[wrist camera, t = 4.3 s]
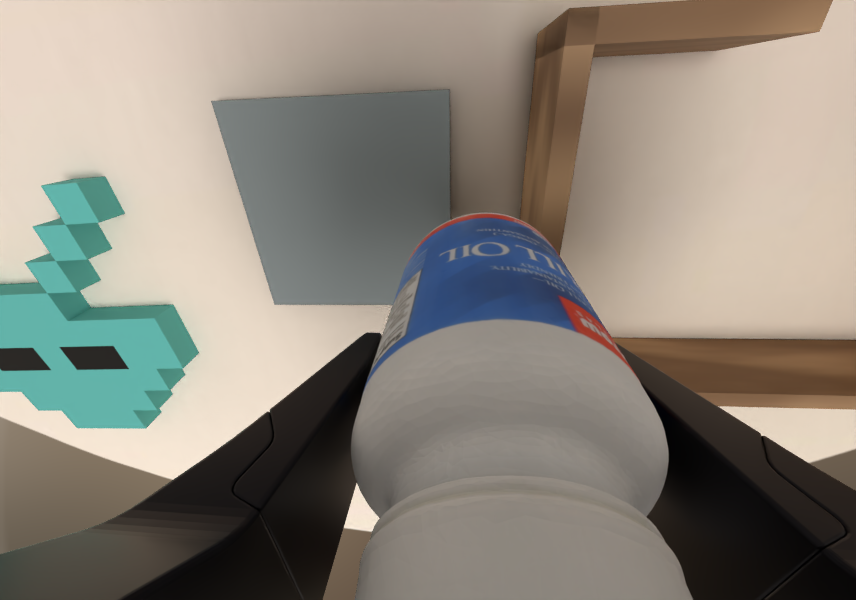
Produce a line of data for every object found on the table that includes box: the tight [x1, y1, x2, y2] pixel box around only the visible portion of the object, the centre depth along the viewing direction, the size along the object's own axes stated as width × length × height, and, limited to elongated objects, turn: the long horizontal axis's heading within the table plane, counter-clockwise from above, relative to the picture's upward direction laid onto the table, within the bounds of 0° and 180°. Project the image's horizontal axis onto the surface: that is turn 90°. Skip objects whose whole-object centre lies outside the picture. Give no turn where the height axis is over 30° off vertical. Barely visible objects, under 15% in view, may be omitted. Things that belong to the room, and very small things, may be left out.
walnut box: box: [520, 0, 856, 409], centre depth 17 cm, size 18×24×5 cm
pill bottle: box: [351, 212, 693, 600], centre depth 8 cm, size 6×5×10 cm
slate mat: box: [211, 89, 450, 305], centre depth 20 cm, size 12×12×1 cm
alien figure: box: [0, 177, 199, 428], centre depth 26 cm, size 20×2×20 cm
